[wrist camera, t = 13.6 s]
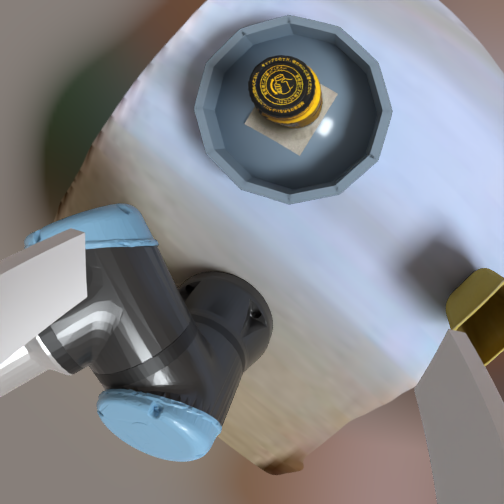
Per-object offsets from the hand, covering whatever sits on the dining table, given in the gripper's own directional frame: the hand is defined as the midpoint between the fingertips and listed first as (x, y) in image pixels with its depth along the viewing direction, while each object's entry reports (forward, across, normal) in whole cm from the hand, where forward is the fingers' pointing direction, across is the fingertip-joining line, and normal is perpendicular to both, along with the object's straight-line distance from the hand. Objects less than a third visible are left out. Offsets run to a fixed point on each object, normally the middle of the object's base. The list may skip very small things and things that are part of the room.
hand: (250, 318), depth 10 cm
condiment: (+28, +3, -9) cm, 30 cm away
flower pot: (+29, -26, +7) cm, 40 cm away
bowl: (+29, +3, -9) cm, 31 cm away
